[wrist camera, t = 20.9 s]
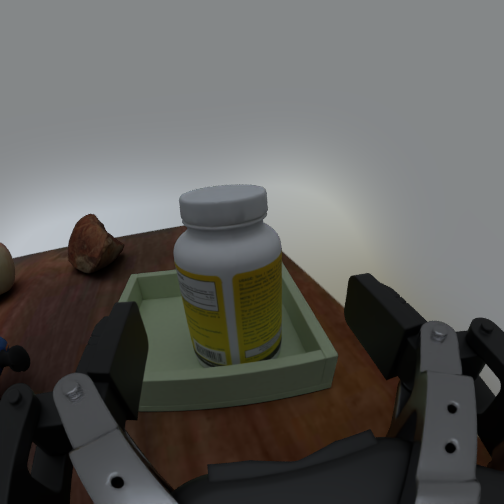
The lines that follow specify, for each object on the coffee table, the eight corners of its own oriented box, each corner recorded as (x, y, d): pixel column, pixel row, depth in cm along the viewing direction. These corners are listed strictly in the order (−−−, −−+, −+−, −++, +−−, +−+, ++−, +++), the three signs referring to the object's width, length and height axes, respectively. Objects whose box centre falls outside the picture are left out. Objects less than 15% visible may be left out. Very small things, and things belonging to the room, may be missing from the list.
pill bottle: (275, 319, 22) (273, 179, 17) (287, 377, 16) (293, 200, 12) (198, 324, 21) (177, 186, 17) (190, 382, 16) (150, 210, 11)
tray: (280, 285, 28) (280, 258, 27) (331, 387, 15) (338, 355, 14) (138, 301, 26) (131, 274, 25) (107, 410, 13) (87, 379, 12)
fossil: (78, 230, 39) (87, 180, 34) (122, 242, 43) (137, 194, 38) (58, 289, 30) (60, 235, 25) (113, 302, 34) (126, 253, 29)
